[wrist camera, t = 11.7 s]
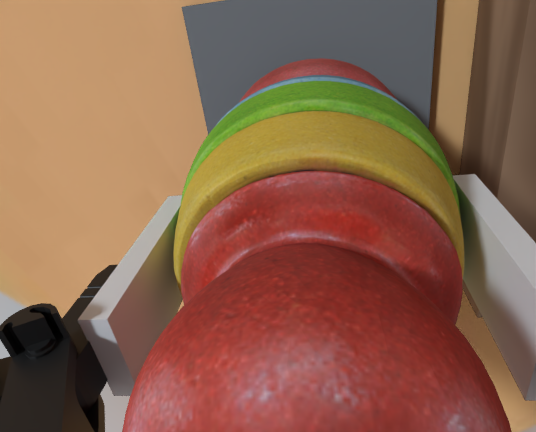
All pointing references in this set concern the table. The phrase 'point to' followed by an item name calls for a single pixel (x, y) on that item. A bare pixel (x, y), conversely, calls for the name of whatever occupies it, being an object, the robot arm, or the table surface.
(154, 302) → the robot arm
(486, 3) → the square wooden frame
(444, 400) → the stacking bear
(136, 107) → the table surface
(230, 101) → the rubber mat
